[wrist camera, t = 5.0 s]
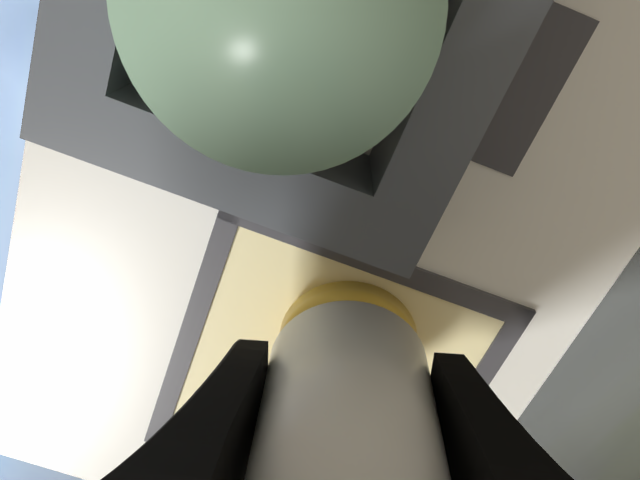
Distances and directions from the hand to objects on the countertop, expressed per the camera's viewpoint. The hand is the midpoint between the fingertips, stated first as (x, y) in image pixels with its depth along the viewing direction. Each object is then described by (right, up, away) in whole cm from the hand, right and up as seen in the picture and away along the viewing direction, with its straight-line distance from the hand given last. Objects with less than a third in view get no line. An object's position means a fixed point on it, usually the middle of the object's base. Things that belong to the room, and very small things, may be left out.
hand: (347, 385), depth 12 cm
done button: (-1, +7, -3) cm, 7 cm away
